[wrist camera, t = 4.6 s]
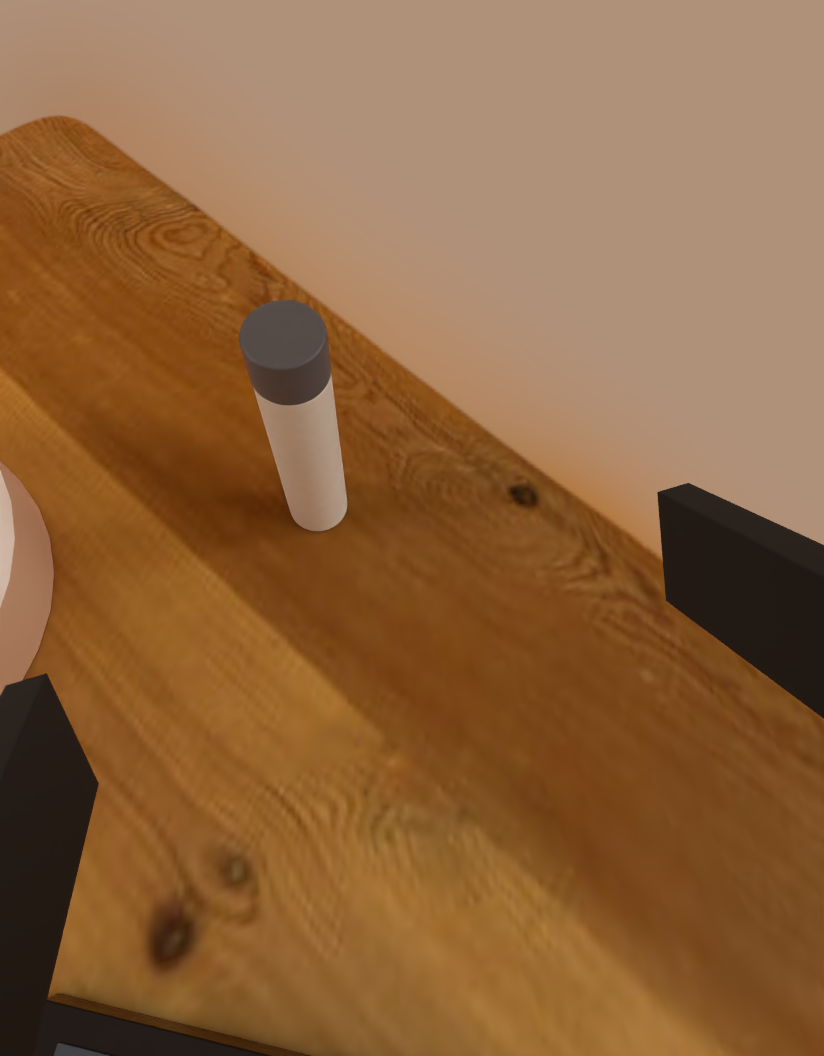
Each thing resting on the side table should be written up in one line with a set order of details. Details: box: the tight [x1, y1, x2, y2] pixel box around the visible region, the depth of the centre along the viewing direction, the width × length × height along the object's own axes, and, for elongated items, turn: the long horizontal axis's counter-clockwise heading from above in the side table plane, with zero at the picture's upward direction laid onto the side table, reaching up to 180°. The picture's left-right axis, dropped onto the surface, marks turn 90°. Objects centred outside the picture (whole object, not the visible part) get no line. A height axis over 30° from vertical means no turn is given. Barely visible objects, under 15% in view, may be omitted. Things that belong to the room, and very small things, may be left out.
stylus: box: [239, 300, 347, 531], centre depth 27 cm, size 3×3×12 cm
